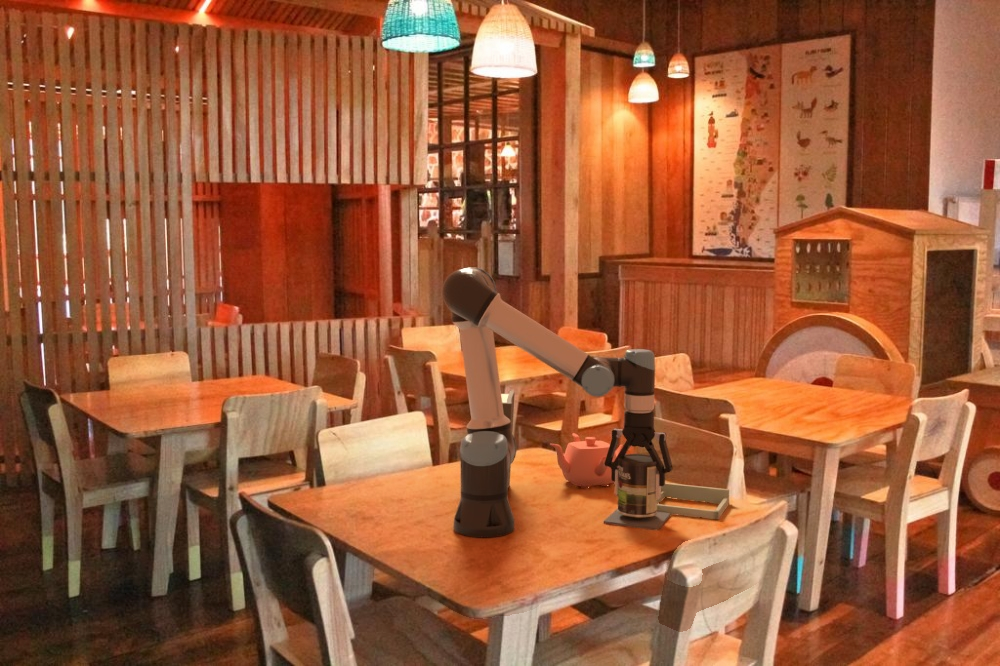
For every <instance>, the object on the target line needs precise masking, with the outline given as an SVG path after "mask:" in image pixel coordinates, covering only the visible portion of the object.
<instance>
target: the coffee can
mask: <svg viewBox="0 0 1000 666" xmlns="http://www.w3.org/2000/svg"><path fill="white" fill-rule="evenodd" d="M618 461H619V477H618V495H617V508H618V510H617V511H618V513H620V514H622V515H625V516H629V517H637V518H644V517H651V516H654V515H656V514H657V499H655V497H656V474H657V473H658V470H657V468H656V464H657V462H656V461H653V460H652V458H651V456H650V455H649V454H644V453H643V454H642V453H626V454H625V456H624V457H623V458H618Z"/></svg>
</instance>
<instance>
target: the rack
mask: <svg viewBox="0 0 1000 666" xmlns="http://www.w3.org/2000/svg"><path fill="white" fill-rule="evenodd" d="M664 497H671V498H677V499H676V500H680V499H685V500H684V501H689V500H694V501H693V502H698V501H705V502H704V503H707V502H711V503H710V504H716V503H717V504H718V506H717V507H716V508H715V510H714V509H705V508H696V507H688V506H687V507H686V506H678V505H669V504H660V503H661V502H662V501H663V500H664V499H665V498H664ZM663 498H664V499H663ZM671 498H670V499H671ZM662 499H663V500H662ZM661 500H662V501H661ZM660 501H661V502H660ZM659 502H660V503H659ZM658 503H659V504H658ZM729 505H730V488H720V487H711V486H710V487H709V486H700V485H699V486H698V485H690V484H681V483H671V482H665V485H664V486H661V497H660V498H659V499H657V511H659V512H667V513H671V515H675V514H678V515H677V516H683V515H684V516H685V517H694V518H700V517H702V518H701V519H711V520H719V519H720V517H721V516H722V514H723V513H724V511H726V509H727V507H728V506H729Z"/></svg>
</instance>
